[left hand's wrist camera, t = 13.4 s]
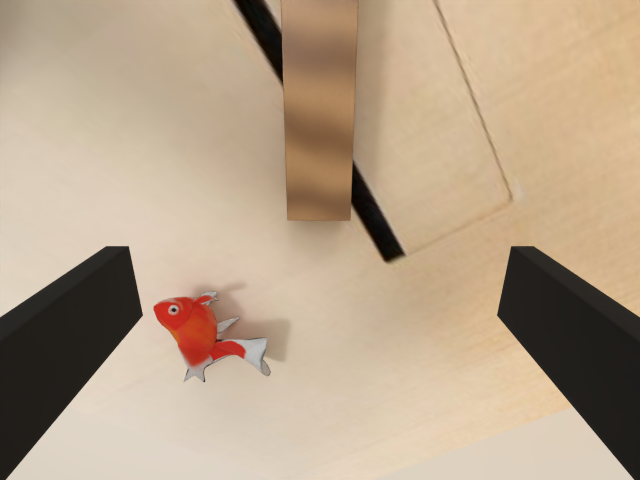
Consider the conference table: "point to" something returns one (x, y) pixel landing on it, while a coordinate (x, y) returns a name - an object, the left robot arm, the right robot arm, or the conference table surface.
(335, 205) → the beam
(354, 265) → the conference table surface
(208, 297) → the fish
